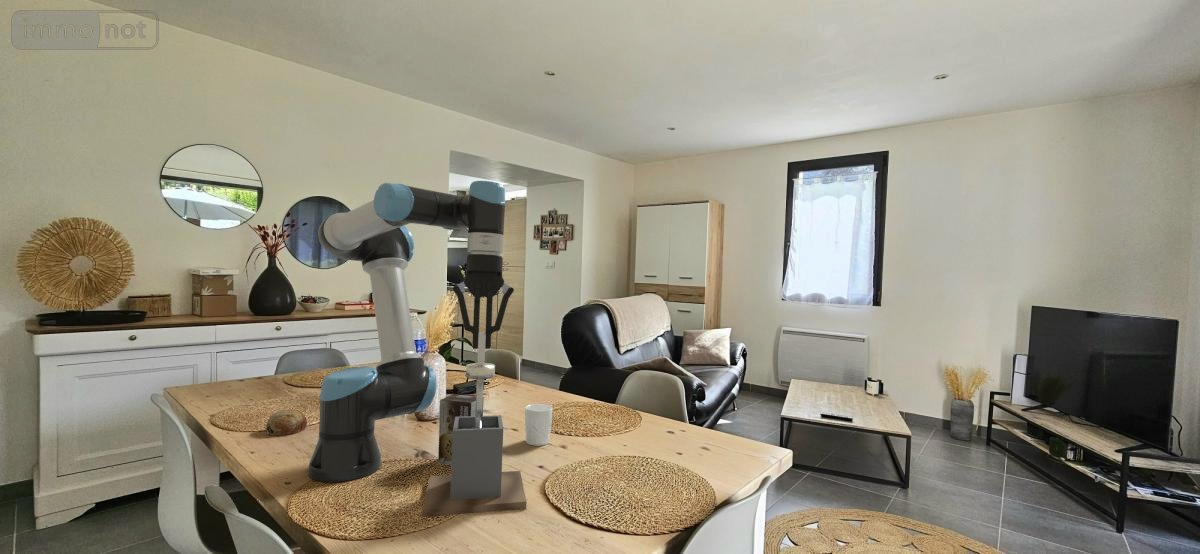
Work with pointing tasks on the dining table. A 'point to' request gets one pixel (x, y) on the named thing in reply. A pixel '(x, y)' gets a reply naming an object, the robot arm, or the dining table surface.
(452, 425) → the coffee box
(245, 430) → the dining table surface
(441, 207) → the robot arm
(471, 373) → the plunger
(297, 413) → the brown rounded lump
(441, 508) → the base
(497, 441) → the box
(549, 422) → the white cup
